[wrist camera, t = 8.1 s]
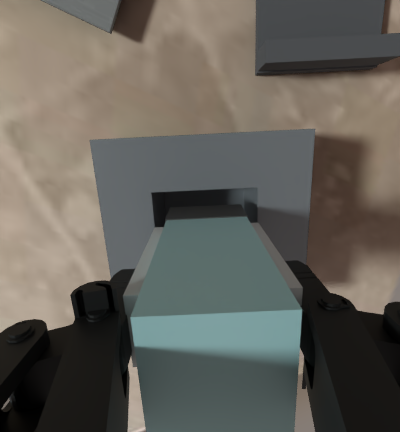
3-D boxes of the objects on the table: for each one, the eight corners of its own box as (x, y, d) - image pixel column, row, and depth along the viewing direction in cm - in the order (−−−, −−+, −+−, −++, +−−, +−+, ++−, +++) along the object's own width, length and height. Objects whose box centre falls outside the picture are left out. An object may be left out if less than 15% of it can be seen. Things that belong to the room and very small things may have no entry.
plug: (170, 207, 16) (127, 315, 6) (240, 204, 16) (304, 307, 6) (175, 271, 17) (146, 443, 8) (241, 268, 17) (295, 437, 8)
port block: (120, 138, 20) (86, 140, 14) (282, 130, 20) (318, 128, 14) (138, 282, 24) (117, 333, 18) (277, 276, 24) (304, 325, 18)
